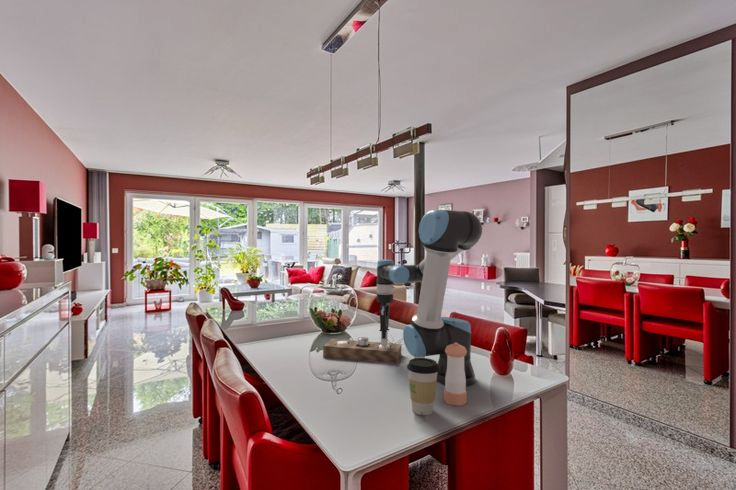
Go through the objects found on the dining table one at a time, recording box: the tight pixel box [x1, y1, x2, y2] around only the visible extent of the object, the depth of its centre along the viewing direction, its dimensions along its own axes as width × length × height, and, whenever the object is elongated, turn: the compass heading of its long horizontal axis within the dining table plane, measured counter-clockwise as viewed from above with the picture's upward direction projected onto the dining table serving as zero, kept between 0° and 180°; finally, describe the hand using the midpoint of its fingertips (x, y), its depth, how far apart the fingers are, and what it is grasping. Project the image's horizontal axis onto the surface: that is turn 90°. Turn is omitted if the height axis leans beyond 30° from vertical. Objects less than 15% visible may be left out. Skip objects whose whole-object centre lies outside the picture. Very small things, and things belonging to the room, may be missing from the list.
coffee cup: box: [406, 357, 439, 416], centre depth 111 cm, size 10×10×15 cm
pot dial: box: [357, 336, 369, 347], centre depth 166 cm, size 5×5×5 cm
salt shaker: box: [443, 342, 468, 406], centre depth 118 cm, size 7×7×19 cm
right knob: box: [379, 344, 390, 349], centre depth 163 cm, size 5×5×5 cm
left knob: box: [337, 341, 348, 346], centre depth 168 cm, size 5×5×5 cm
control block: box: [322, 338, 402, 364], centre depth 166 cm, size 34×13×5 cm, turn 77°
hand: (384, 345), depth 163 cm, fingers closed
